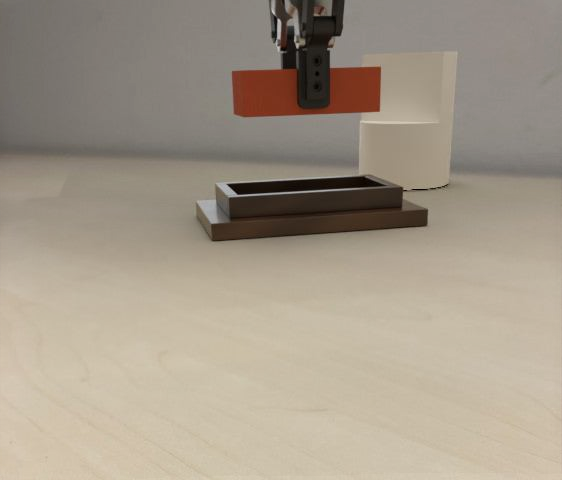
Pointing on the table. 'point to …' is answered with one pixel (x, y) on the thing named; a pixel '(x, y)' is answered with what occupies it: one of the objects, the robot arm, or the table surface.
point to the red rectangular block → (283, 92)
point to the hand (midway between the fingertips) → (304, 105)
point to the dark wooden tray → (306, 207)
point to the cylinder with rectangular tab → (410, 119)
